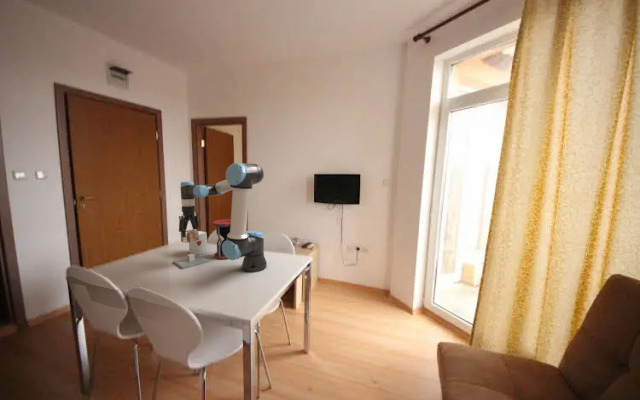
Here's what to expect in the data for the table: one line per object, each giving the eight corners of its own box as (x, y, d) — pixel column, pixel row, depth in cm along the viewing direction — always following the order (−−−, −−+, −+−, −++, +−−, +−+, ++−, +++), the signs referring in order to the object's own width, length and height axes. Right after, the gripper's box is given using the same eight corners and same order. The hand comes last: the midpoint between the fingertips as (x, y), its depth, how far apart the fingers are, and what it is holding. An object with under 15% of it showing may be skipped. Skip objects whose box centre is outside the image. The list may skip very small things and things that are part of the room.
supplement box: (195, 255, 173) (194, 234, 171) (189, 253, 177) (188, 233, 176) (207, 252, 180) (206, 232, 178) (200, 249, 185) (200, 230, 183)
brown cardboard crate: (189, 238, 162) (189, 229, 161) (198, 239, 160) (198, 230, 160) (181, 241, 155) (180, 232, 155) (190, 242, 153) (190, 232, 153)
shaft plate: (198, 256, 171) (198, 249, 170) (208, 261, 160) (208, 254, 160) (173, 262, 159) (172, 254, 158) (182, 269, 148) (182, 260, 148)
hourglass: (228, 260, 163) (227, 224, 160) (209, 258, 167) (207, 222, 165) (242, 253, 178) (242, 220, 175) (224, 251, 183) (223, 218, 180)
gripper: (195, 203, 166) (196, 236, 168) (170, 207, 147) (172, 244, 149) (204, 203, 164) (205, 236, 167) (180, 207, 145) (182, 245, 147)
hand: (190, 240), depth 158 cm, fingers closed on brown cardboard crate, 7 cm apart
